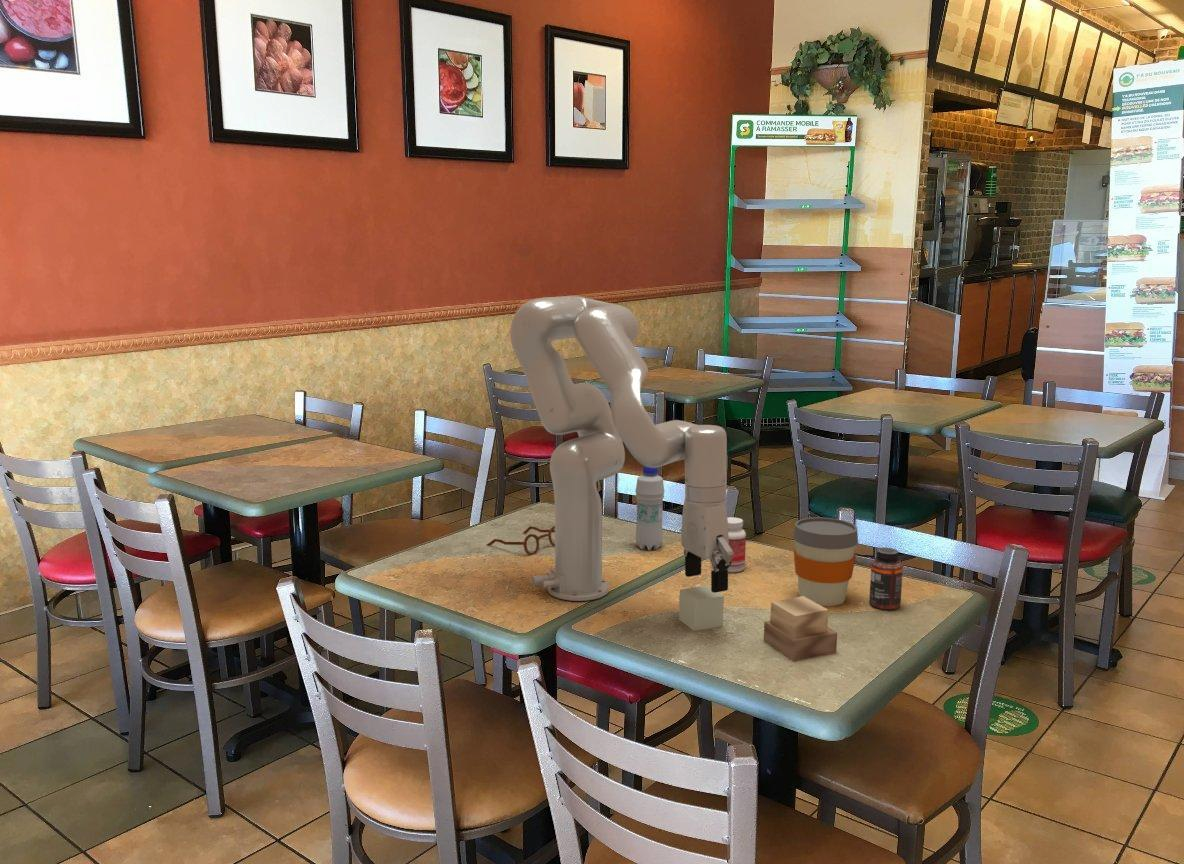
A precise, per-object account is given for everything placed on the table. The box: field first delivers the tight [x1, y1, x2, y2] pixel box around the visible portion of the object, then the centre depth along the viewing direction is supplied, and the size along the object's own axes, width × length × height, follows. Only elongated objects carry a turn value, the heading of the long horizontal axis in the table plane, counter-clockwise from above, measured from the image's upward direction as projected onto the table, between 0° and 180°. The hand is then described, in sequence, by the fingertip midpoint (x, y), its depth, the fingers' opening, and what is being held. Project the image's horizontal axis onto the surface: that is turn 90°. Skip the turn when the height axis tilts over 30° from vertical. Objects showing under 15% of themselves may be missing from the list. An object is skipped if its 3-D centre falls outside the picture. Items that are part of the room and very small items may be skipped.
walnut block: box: [763, 620, 838, 661], centre depth 166 cm, size 9×9×4 cm
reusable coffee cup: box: [792, 517, 859, 607], centre depth 188 cm, size 13×12×15 cm
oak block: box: [769, 596, 829, 638], centre depth 165 cm, size 7×7×4 cm
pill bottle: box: [716, 516, 747, 573], centre depth 205 cm, size 6×6×11 cm
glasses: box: [486, 525, 555, 556], centre depth 222 cm, size 13×13×5 cm
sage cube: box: [678, 584, 725, 632], centre depth 176 cm, size 6×6×6 cm
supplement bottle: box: [868, 547, 904, 611], centre depth 184 cm, size 6×6×11 cm
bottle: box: [635, 465, 665, 551], centre depth 218 cm, size 7×7×20 cm
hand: (706, 583), depth 174 cm, fingers open, 9 cm apart
